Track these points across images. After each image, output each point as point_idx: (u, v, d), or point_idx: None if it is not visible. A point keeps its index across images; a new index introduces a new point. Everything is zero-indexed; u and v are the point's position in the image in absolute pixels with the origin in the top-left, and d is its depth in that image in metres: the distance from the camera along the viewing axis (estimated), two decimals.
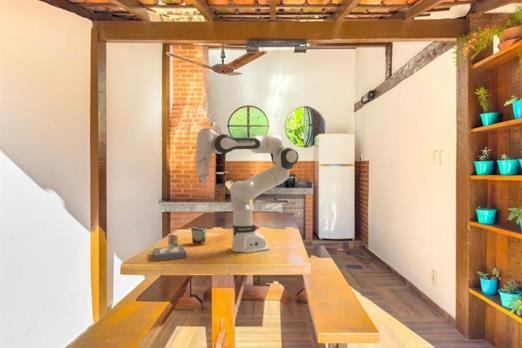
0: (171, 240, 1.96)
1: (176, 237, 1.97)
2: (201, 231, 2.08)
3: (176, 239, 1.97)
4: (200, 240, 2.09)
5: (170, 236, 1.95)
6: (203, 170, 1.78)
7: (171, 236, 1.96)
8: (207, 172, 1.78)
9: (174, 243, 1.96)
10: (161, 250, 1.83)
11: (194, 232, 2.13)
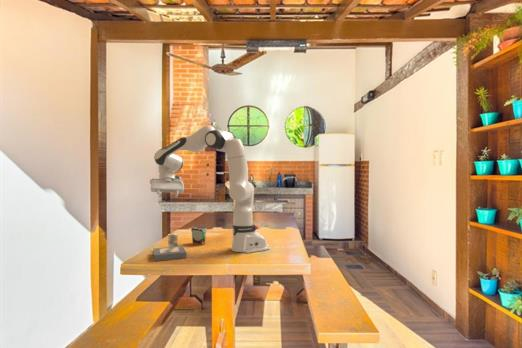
0: (171, 240, 1.96)
1: (176, 237, 1.96)
2: (201, 231, 2.08)
3: (176, 239, 1.97)
4: (200, 240, 2.09)
5: (170, 236, 1.95)
6: None
7: (171, 236, 1.96)
8: (151, 187, 2.07)
9: (174, 243, 1.96)
10: (161, 250, 1.83)
11: (194, 232, 2.13)
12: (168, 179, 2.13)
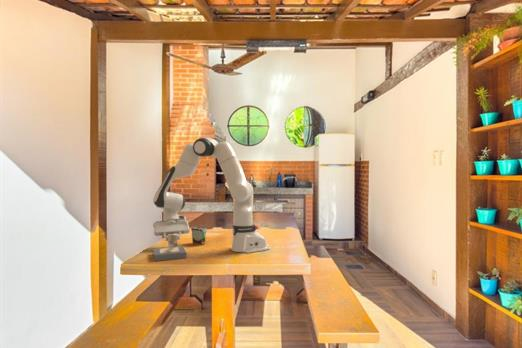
0: (171, 240, 1.96)
1: (176, 237, 1.97)
2: (201, 231, 2.08)
3: (176, 239, 1.97)
4: (200, 240, 2.09)
5: (170, 236, 1.95)
6: None
7: (171, 236, 1.96)
8: (154, 231, 1.98)
9: (174, 243, 1.96)
10: (161, 250, 1.83)
11: (194, 232, 2.13)
12: (172, 220, 2.03)
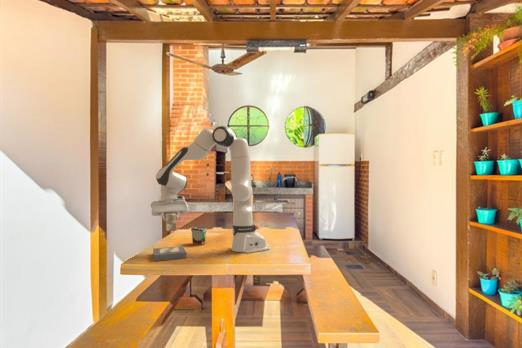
0: (169, 220, 1.89)
1: (174, 217, 1.90)
2: (201, 231, 2.08)
3: (174, 219, 1.90)
4: (200, 240, 2.09)
5: (168, 216, 1.88)
6: None
7: (169, 216, 1.89)
8: None
9: (172, 223, 1.89)
10: (161, 250, 1.83)
11: (194, 232, 2.13)
12: (170, 200, 1.96)
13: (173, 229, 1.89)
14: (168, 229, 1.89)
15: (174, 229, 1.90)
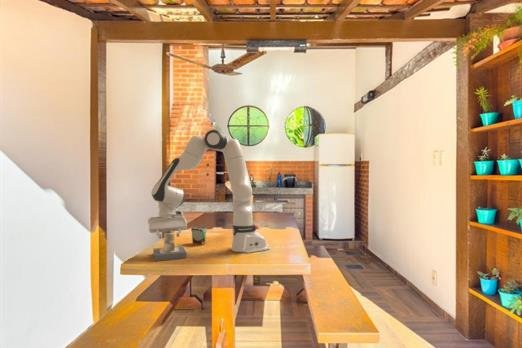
0: (167, 240, 1.81)
1: (173, 236, 1.82)
2: (201, 231, 2.08)
3: (173, 238, 1.82)
4: (200, 240, 2.09)
5: (167, 235, 1.81)
6: None
7: (167, 235, 1.81)
8: (149, 228, 1.83)
9: (171, 243, 1.82)
10: (161, 250, 1.83)
11: (194, 232, 2.13)
12: (168, 216, 1.89)
13: (171, 249, 1.82)
14: (166, 249, 1.81)
15: (172, 249, 1.82)
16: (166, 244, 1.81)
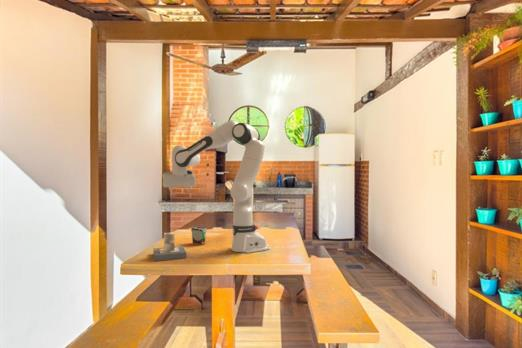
0: (167, 240, 1.81)
1: (173, 236, 1.82)
2: (201, 231, 2.08)
3: (173, 238, 1.82)
4: (200, 240, 2.09)
5: (167, 235, 1.81)
6: None
7: (167, 235, 1.81)
8: (163, 185, 2.09)
9: (171, 243, 1.82)
10: (161, 250, 1.83)
11: (194, 232, 2.13)
12: (180, 176, 2.10)
13: (171, 249, 1.82)
14: (166, 249, 1.81)
15: (172, 249, 1.82)
16: (166, 244, 1.81)
